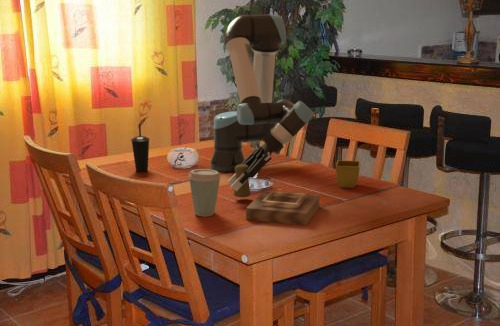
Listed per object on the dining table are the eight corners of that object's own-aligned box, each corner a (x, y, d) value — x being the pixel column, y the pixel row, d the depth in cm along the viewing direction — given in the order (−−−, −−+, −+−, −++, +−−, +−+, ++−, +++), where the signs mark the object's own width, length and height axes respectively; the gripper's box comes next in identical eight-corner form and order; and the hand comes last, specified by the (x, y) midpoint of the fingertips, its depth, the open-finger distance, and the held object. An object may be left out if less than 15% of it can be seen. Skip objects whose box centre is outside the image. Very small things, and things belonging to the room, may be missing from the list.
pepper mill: (242, 191, 245) (242, 161, 242) (254, 194, 240) (254, 164, 237) (230, 194, 240) (229, 164, 238) (242, 198, 236) (241, 168, 233)
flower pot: (358, 190, 252) (359, 166, 250) (335, 188, 254) (335, 165, 251) (359, 183, 260) (360, 161, 258) (336, 182, 262) (337, 160, 260)
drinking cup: (141, 167, 287) (139, 121, 282) (154, 170, 282) (152, 123, 277) (128, 171, 281) (126, 124, 276) (142, 174, 276) (139, 126, 271)
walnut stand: (246, 219, 220) (246, 203, 219) (263, 201, 238) (263, 187, 237) (306, 225, 214) (306, 208, 213) (319, 206, 233) (319, 191, 231)
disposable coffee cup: (201, 207, 233) (200, 165, 230) (227, 211, 228) (226, 168, 224) (183, 215, 225) (181, 172, 221) (210, 220, 219) (209, 176, 216)
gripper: (291, 151, 231) (244, 200, 231) (277, 139, 248) (234, 185, 249) (276, 137, 228) (229, 187, 229) (263, 126, 245) (219, 172, 246)
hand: (231, 186), depth 239 cm, fingers closed on pepper mill, 5 cm apart
